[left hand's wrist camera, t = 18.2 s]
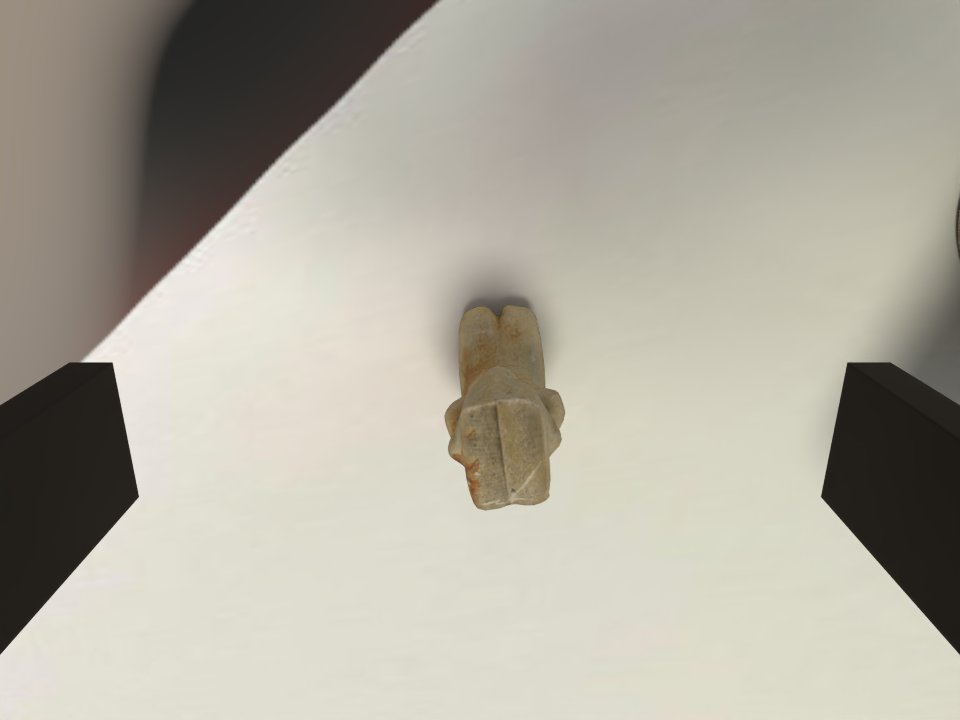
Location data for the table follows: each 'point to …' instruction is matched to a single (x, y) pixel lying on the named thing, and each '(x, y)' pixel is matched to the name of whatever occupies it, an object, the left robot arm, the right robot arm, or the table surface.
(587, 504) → the table surface
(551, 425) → the sculpture
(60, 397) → the left robot arm
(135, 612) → the table surface
